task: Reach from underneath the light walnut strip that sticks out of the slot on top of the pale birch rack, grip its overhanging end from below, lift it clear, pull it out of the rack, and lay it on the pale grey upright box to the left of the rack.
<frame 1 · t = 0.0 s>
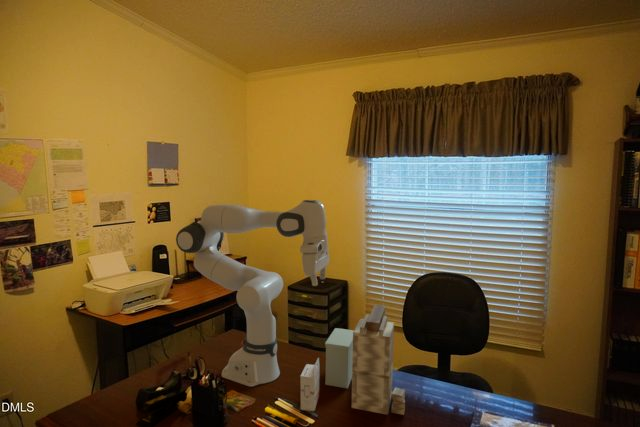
hand: (319, 282, 132), 39 cm above the table, tool pointing down, fingers open, 8 cm apart
ink cartridge box: (309, 403, 123), on the table
offcut stack: (398, 409, 121), on the table
pale grey upright box: (341, 376, 141), on the table
walnut strip: (376, 321, 129), point 26 cm above the table, touching birch rack
birch rack: (372, 400, 126), on the table
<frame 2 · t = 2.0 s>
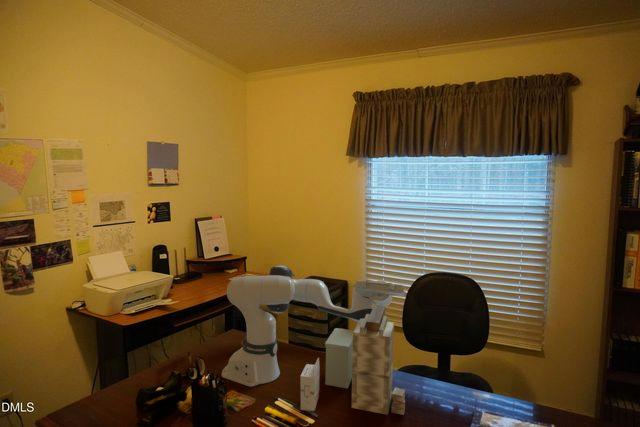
hand: (377, 283, 146), 35 cm above the table, tool pointing upward, fingers open, 8 cm apart
nothing on the table moved.
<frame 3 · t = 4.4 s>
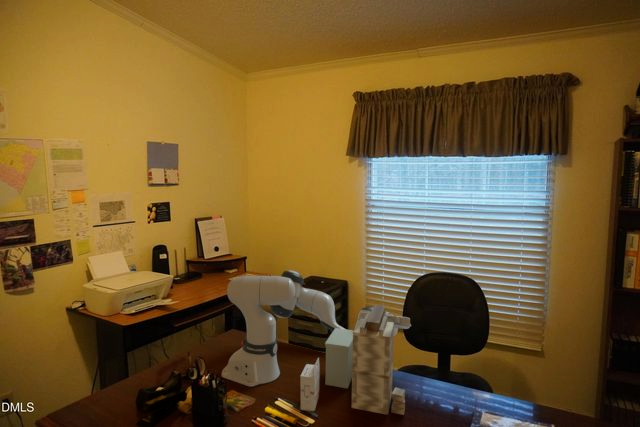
hand: (382, 316, 141), 23 cm above the table, tool pointing upward, fingers open, 8 cm apart
nothing on the table moved.
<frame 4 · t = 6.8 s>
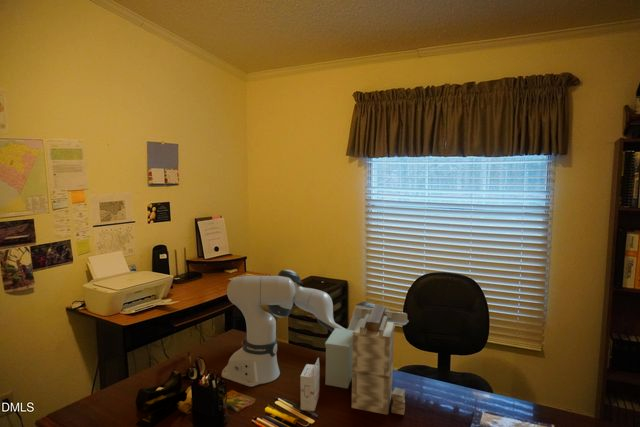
hand: (378, 312, 133), 28 cm above the table, tool pointing upward, fingers closed on walnut strip, 4 cm apart
walnut strip: (376, 321, 129), point 26 cm above the table, touching gripper
everything else where it was.
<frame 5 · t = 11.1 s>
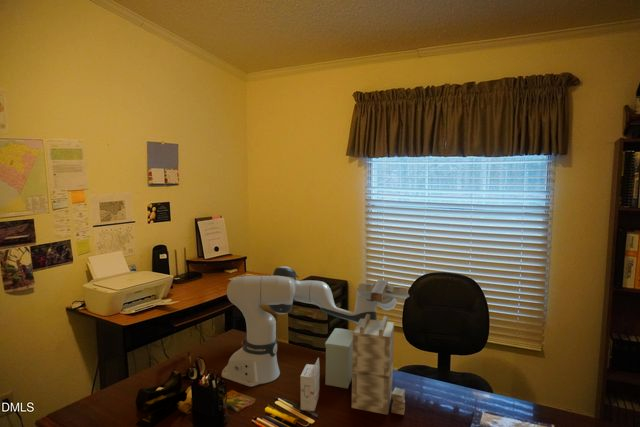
hand: (381, 286, 144), 34 cm above the table, tool pointing upward, fingers closed on walnut strip, 4 cm apart
walnut strip: (379, 293, 140), point 32 cm above the table, touching gripper
everything else where it was.
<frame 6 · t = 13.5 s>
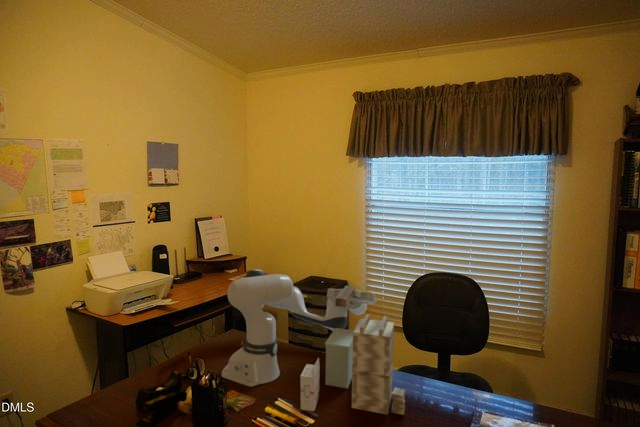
hand: (348, 291, 146), 31 cm above the table, tool pointing upward, fingers closed on walnut strip, 4 cm apart
walnut strip: (345, 299, 143), point 29 cm above the table, touching gripper
everything else where it was.
when the fingers open (20 cm above the table, at t = 15.7 s): walnut strip drops 3 cm, resting on pale grey upright box.
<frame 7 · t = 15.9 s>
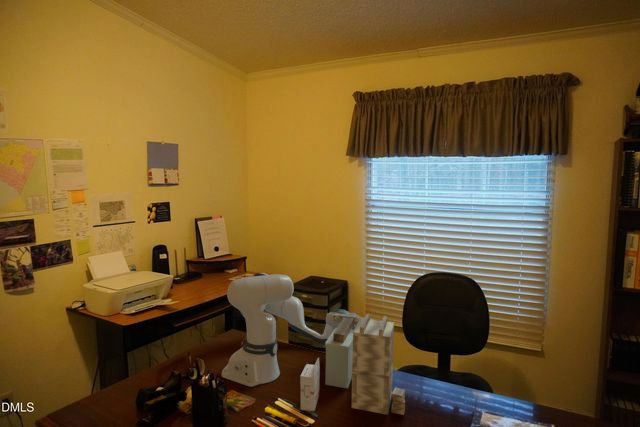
hand: (346, 318, 147), 20 cm above the table, tool pointing upward, fingers open, 6 cm apart
walnut strip: (344, 332, 143), point 16 cm above the table, touching pale grey upright box
everything else where it was.
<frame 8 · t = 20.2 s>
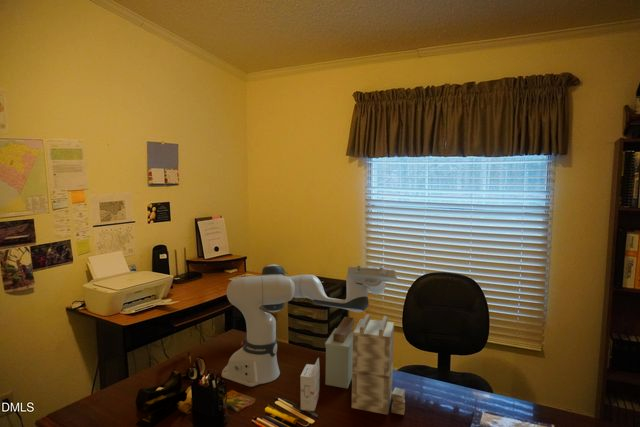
hand: (369, 268, 148), 40 cm above the table, tool pointing upward, fingers open, 8 cm apart
nothing on the table moved.
at the end: walnut strip inside the target area on the pale grey upright box (1.6 cm from its centre), point 16.0 cm above the pale grey upright box's base; walnut strip tilted 0°; the gripper is holding nothing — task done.
